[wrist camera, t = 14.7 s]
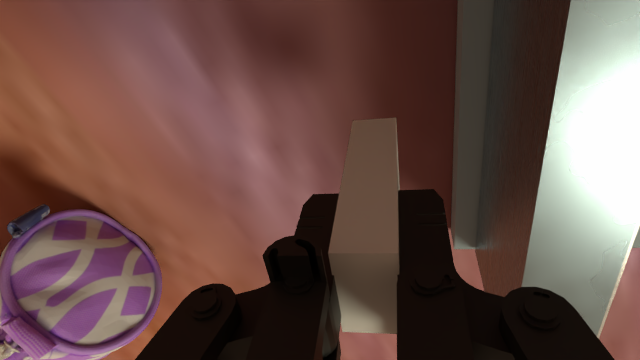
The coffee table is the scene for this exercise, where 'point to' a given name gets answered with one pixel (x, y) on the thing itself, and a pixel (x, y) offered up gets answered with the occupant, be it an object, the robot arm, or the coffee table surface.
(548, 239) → the sliding jaw
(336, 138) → the coffee table surface
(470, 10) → the vise
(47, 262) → the pencil case
